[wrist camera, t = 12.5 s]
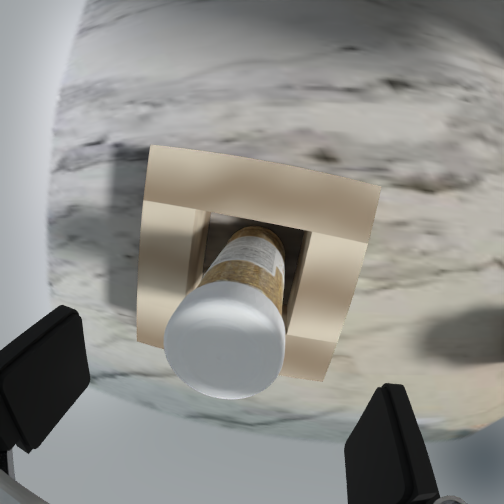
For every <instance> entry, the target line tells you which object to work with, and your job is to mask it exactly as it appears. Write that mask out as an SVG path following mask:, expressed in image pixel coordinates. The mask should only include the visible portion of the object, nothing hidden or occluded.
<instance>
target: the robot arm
mask: <svg viewBox="0 0 504 504" xmlns="http://www.w3.org/2000/svg"><path fill="white" fill-rule="evenodd" d="M89 382H90V373H89V368H88V362H87V355H86V349H85V342H84V334H83V326H82V319H81V317H80V316H79V313H78V312H77V311H76V310H75V309H72V308H69V307H67V306H64V305H60V306H58V307H57V308H56V309H54V310H53V311H52V312H50V313H49V314H48V315H46V316H45V317H43V318H42V319H41V320H39V321H38V322H37V323H36V324H34V325H33V326H31V327H30V328H29V329H27V330H26V331H25V332H24V333H22V334H21V335H20V336H18V337H17V338H16V339H14V340H13V341H12V342H11V343H9V344H8V345H7V346H6V347H4V348H3V349H2V350H0V504H49V503H48V502H46V501H44V500H43V499H41V498H40V497H38V496H37V495H35V494H34V493H32V492H31V491H29V490H28V489H26V488H25V487H23V486H22V485H21V484H19V483H18V482H17V481H15V474H14V465H13V453H12V448H13V446H14V445H15V444H16V445H17V446H18V447H19V448H21V449H22V450H24V451H25V452H27V453H28V454H29V453H30V452H31V450H32V449H36V448H38V447H39V446H40V445H41V443H42V442H43V441H44V439H45V438H46V437H47V436H48V434H49V433H50V432H51V431H52V429H53V428H54V427H55V426H56V424H57V423H58V422H59V421H60V419H61V418H62V417H63V416H64V415H65V413H66V412H67V411H68V409H69V408H70V407H71V406H72V405H73V404H74V402H75V401H76V400H77V399H78V397H79V396H80V395H81V394H82V393H83V391H84V390H85V389H86V388H87V387H88V385H89ZM344 454H345V467H346V480H347V495H348V504H467V503H466V502H465V501H463V500H462V499H461V498H459V497H456V496H444V497H441V498H440V495H439V491H438V488H437V484H436V480H435V477H434V473H433V470H432V466H431V463H430V460H429V456H428V453H427V450H426V447H425V444H424V440H423V437H422V434H421V432H420V430H419V427H418V424H417V421H416V418H415V415H414V412H413V410H412V407H411V404H410V401H409V398H408V396H407V393H406V390H405V388H404V386H403V385H401V384H390V383H385V384H384V385H383V386H382V387H378V388H377V389H376V390H375V392H374V394H373V396H372V398H371V400H370V402H369V403H368V405H367V407H366V409H365V411H364V412H363V414H362V416H361V418H360V419H359V421H358V423H357V425H356V426H355V428H354V430H353V431H352V433H351V435H350V436H349V438H348V439H347V441H346V444H345V448H344Z"/></svg>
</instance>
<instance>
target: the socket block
mask: <svg viewBox="0 0 504 504" xmlns="http://www.w3.org/2000/svg"><path fill="white" fill-rule="evenodd" d="M380 191H381V187H380V186H376V185H372V184H368V183H365V182H361V181H357V180H353V179H349V178H344V177H340V176H336V175H332V174H327V173H323V172H318V171H314V170H309V169H304V168H299V167H295V166H290V165H285V164H279V163H274V162H269V161H263V160H258V159H252V158H246V157H240V156H234V155H227V154H221V153H214V152H207V151H200V150H192V149H184V148H176V147H167V146H157V145H150V152H149V159H148V166H147V174H146V182H145V190H144V199H143V209H142V220H141V232H140V245H139V261H138V284H137V341H138V342H141V343H145V344H148V345H151V346H155V347H158V348H162V349H164V333H165V329H166V326H167V324H168V321H169V320H170V318H171V316H172V315H173V313H174V312H175V310H176V309H177V307H178V306H179V304H180V303H181V302H182V301H183V299H184V298H185V297H186V296H187V295H188V294H189V293H190V292H192V291H193V290H195V289H196V288H197V287H198V285H199V284H200V281H201V279H202V272H203V264H204V257H205V250H206V242H207V235H208V228H209V221H210V214H211V212H214V213H219V214H225V215H230V216H235V217H241V218H246V219H251V220H256V221H261V222H266V223H271V224H277V225H282V226H287V227H291V228H296V229H301V230H305V231H304V235H303V240H302V244H301V249H300V253H299V258H298V262H297V266H296V271H295V275H294V279H293V283H292V288H291V292H290V296H289V300H288V304H287V305H283V304H282V319H283V322H284V326H285V354H284V361H283V365H282V368H281V371H280V373H279V374H278V375H281V376H287V377H293V378H300V379H306V380H313V381H320V382H323V380H324V377H325V374H326V372H327V369H328V367H329V364H330V361H331V359H332V356H333V353H334V351H335V348H336V345H337V342H338V339H339V336H340V334H341V331H342V328H343V325H344V322H345V319H346V316H347V313H348V310H349V307H350V304H351V300H352V297H353V294H354V291H355V287H356V284H357V281H358V277H359V274H360V271H361V267H362V264H363V260H364V256H365V253H366V249H367V245H368V241H369V238H370V234H371V230H372V226H373V222H374V218H375V213H376V209H377V205H378V200H379V196H380Z"/></svg>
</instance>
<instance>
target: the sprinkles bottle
mask: <svg viewBox="0 0 504 504" xmlns="http://www.w3.org/2000/svg"><path fill="white" fill-rule="evenodd" d="M284 263H285V249H284V246H283V244H282V242H281V240H280V239H279V237H278V236H277V235H276V234H275V233H273V232H272V231H271V230H269V229H267V228H264V227H260V226H248V227H245V228H243V229H240V230H238V231H237V232H236V233H234V234H233V235H232V237H231V238H230V239H229V241H228V243H227V245H226V246H225V248H224V249H223V250H222V251H221V253H220V254H219V255H218V257H217V258H216V259H215V261H214V262H213V263H212V265H211V266H210V267H209V269H208V270H207V272H206V273H205V274H204V276H203V277H202V279H201V281H200V284H199V285H198V287H197V288H196V289H195V290H193V291H192V292H190V293H189V294H188V295H187V296H186V297H185V298H184V299H183V301H182V302H181V303H180V304H179V306H178V307H177V309H176V310H175V312H174V313H173V315H172V316H171V318H170V320H169V321H168V324H167V326H166V329H165V333H164V351H165V354H166V358H167V360H168V362H169V364H170V366H171V368H172V369H173V371H174V372H175V373H176V375H177V376H178V377H179V378H180V379H181V380H182V381H183V382H184V383H186V384H187V385H188V386H190V387H191V388H193V389H194V390H196V391H198V392H200V393H203V394H205V395H208V396H211V397H215V398H221V399H241V398H246V397H250V396H253V395H255V394H257V393H259V392H261V391H263V390H264V389H266V388H267V387H268V386H270V385H271V383H273V382H274V380H275V379H276V378H277V376H278V374H279V373H280V371H281V368H282V365H283V361H284V354H285V326H284V322H283V319H282V302H283V290H284V273H285V269H284Z"/></svg>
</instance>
